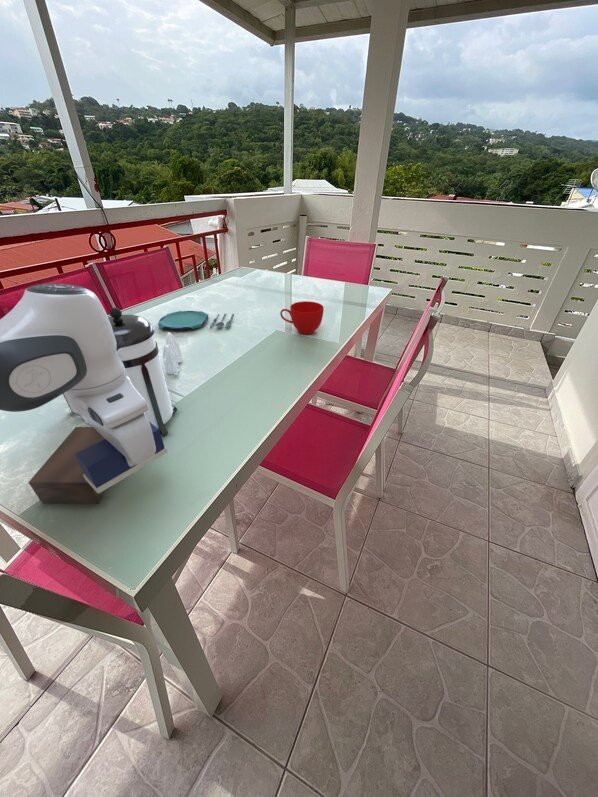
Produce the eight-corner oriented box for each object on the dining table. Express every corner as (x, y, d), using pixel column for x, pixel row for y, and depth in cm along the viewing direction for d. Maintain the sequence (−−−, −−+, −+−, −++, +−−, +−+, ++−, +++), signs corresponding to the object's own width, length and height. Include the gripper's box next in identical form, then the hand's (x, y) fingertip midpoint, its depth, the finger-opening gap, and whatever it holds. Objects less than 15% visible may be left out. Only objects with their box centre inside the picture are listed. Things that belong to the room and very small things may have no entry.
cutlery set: (169, 314, 147) (168, 309, 146) (236, 315, 146) (235, 310, 145) (152, 332, 130) (150, 327, 129) (227, 333, 130) (226, 328, 129)
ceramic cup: (282, 324, 139) (281, 300, 133) (322, 325, 138) (323, 301, 133) (279, 336, 128) (278, 312, 123) (322, 338, 128) (324, 313, 122)
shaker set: (171, 358, 113) (164, 328, 106) (184, 357, 113) (177, 327, 107) (165, 376, 103) (156, 344, 97) (179, 375, 103) (171, 343, 97)
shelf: (42, 503, 64) (27, 482, 60) (85, 446, 77) (75, 426, 73) (99, 503, 64) (88, 482, 60) (132, 446, 77) (125, 426, 73)
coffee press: (195, 421, 85) (170, 307, 68) (132, 451, 75) (85, 328, 58) (164, 394, 95) (136, 289, 78) (106, 418, 86) (59, 304, 69)
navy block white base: (98, 494, 55) (85, 468, 52) (85, 479, 58) (72, 454, 54) (167, 452, 63) (160, 428, 60) (153, 441, 66) (146, 417, 63)
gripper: (51, 375, 55) (80, 438, 62) (109, 426, 44) (136, 495, 52) (90, 362, 59) (113, 423, 66) (152, 405, 48) (171, 472, 56)
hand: (124, 455), depth 59 cm, fingers closed on navy block white base, 5 cm apart
